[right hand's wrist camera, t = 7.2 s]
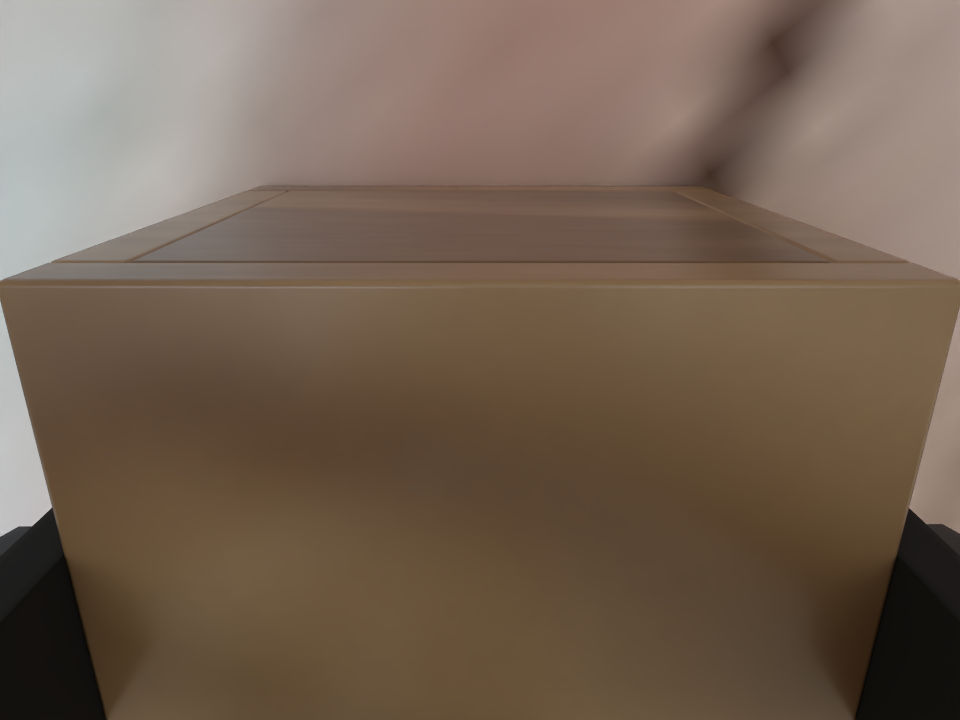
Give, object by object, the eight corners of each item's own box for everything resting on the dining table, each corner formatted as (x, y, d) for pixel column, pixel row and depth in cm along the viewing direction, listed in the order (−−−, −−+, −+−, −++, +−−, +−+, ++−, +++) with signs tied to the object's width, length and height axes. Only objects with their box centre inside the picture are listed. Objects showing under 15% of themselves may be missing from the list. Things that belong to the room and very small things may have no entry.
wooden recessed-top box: (633, 817, 23) (725, 1244, 14) (327, 817, 23) (235, 1242, 14) (703, 185, 16) (969, 281, 7) (258, 185, 16) (-9, 280, 7)
